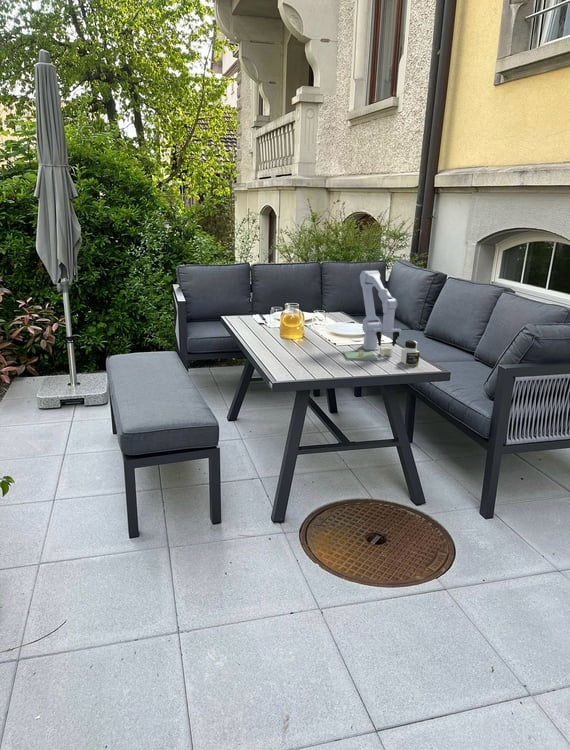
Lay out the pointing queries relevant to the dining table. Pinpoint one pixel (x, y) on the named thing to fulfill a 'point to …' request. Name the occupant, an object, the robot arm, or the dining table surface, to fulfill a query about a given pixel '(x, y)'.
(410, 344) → the medicine bottle
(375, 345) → the robot arm
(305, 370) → the dining table surface
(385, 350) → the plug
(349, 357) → the header board
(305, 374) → the dining table surface
